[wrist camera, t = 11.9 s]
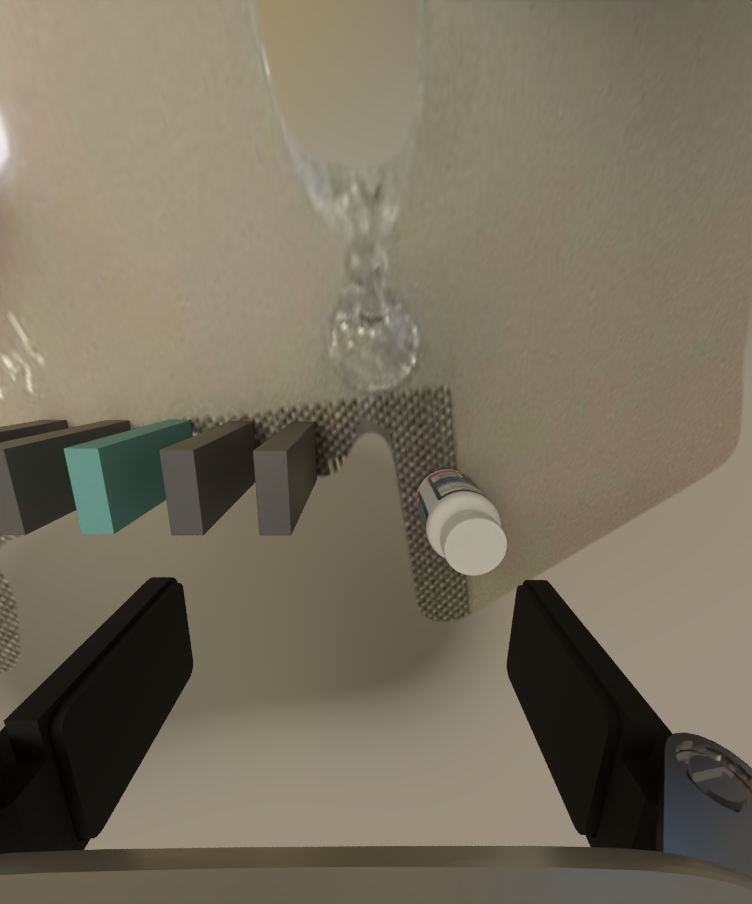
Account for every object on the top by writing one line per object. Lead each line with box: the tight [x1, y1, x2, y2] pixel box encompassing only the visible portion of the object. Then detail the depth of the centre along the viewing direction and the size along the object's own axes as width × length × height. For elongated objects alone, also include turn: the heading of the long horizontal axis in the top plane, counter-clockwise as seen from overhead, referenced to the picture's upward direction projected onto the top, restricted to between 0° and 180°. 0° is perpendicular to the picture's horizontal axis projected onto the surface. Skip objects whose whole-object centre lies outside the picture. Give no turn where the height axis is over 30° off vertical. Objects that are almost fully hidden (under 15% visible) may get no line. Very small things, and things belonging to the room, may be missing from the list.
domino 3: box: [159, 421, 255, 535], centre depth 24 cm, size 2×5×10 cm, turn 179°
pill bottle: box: [416, 469, 507, 575], centre depth 26 cm, size 5×5×9 cm
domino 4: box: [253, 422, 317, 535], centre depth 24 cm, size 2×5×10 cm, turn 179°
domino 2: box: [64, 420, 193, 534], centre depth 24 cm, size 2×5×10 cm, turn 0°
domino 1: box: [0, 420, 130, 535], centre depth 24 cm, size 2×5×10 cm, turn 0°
